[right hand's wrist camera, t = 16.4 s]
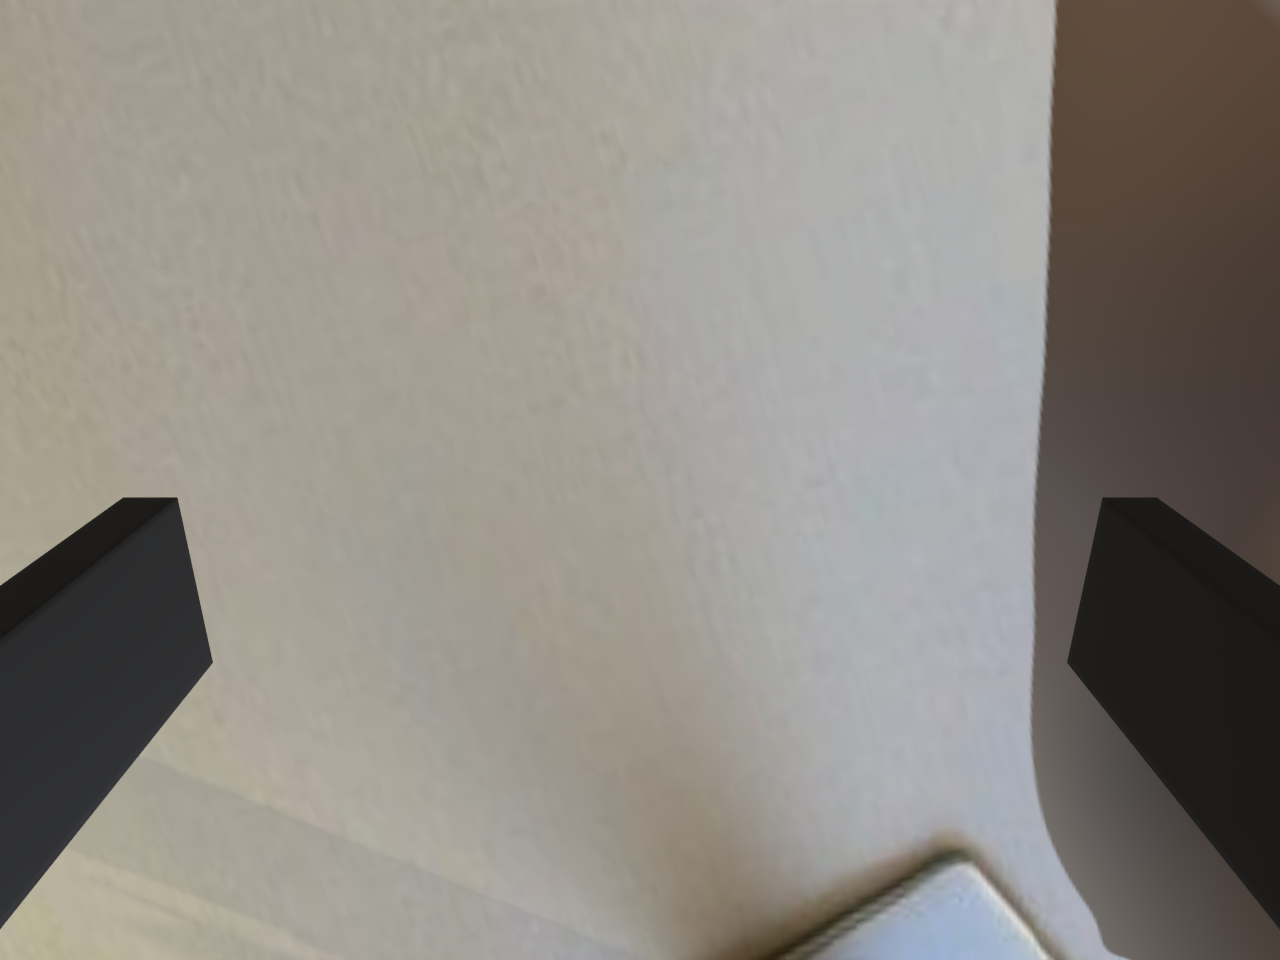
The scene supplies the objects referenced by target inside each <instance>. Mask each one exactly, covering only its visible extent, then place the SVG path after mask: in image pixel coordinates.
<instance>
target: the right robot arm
mask: <svg viewBox="0 0 1280 960" xmlns="http://www.w3.org/2000/svg"><path fill="white" fill-rule="evenodd" d="M212 663H213V661H212V657H211V652H210V647H209V643H208V638H207V633H206V629H205V624H204V619H203V615H202V610H201V605H200V601H199V596H198V591H197V587H196V582H195V577H194V573H193V568H192V563H191V559H190V554H189V549H188V545H187V540H186V535H185V531H184V526H183V522H182V517H181V512H180V508H179V503H178V498H122V499H121V500H119V501H118V502H116V503H115V504H114V505H112V506H111V507H110V508H108V509H107V510H105V511H104V512H103V513H101V514H100V515H98V516H97V517H96V518H94V519H93V520H91V521H90V522H89V523H87V524H86V525H84V526H83V527H82V528H80V529H79V530H77V531H76V532H75V533H73V534H72V535H70V536H69V537H68V538H66V539H65V540H63V541H62V542H61V543H59V544H58V545H56V546H55V547H54V548H52V549H51V550H49V551H48V552H47V553H45V554H44V555H43V556H41V557H40V558H38V559H37V560H36V561H34V562H33V563H31V564H30V565H29V566H27V567H26V568H24V569H23V570H22V571H20V572H19V573H17V574H16V575H15V576H13V577H12V578H10V579H9V580H8V581H6V582H5V583H3V584H2V585H1V586H0V929H1V927H2V926H3V925H4V924H5V922H6V921H7V920H8V919H9V917H10V916H11V915H12V914H13V912H14V911H15V910H16V909H17V907H18V906H19V905H20V904H21V902H22V901H23V900H24V899H25V897H26V896H27V895H28V894H29V892H30V891H31V890H32V889H33V887H34V886H35V885H36V884H37V882H38V881H39V880H40V879H41V877H42V876H43V875H44V874H45V872H46V871H47V870H48V869H49V867H50V866H51V865H52V864H53V862H54V861H55V860H56V859H57V857H58V856H59V855H60V854H61V852H62V851H63V850H64V849H65V847H66V846H67V845H68V844H69V842H70V841H71V840H72V839H73V837H74V836H75V835H76V833H77V832H78V831H79V830H80V828H81V827H82V826H83V825H84V823H85V822H86V821H87V820H88V818H89V817H90V816H91V815H92V813H93V812H94V811H95V810H96V808H97V807H98V806H99V805H100V803H101V802H102V801H103V800H104V798H105V797H106V796H107V795H108V793H109V792H110V791H111V790H112V788H113V787H114V786H115V785H116V783H117V782H118V781H119V780H120V778H121V777H122V776H123V775H124V773H125V772H126V771H127V770H128V768H129V767H130V766H131V765H132V763H133V762H134V761H135V760H136V758H137V757H138V756H139V755H140V753H141V752H142V751H143V750H144V748H145V747H146V746H147V745H148V743H149V742H150V741H151V740H152V738H153V737H154V736H155V735H156V733H157V732H158V731H159V729H160V728H161V727H162V726H163V724H164V723H165V722H166V721H167V719H168V718H169V717H170V716H171V714H172V713H173V712H174V711H175V709H176V708H177V707H178V706H179V704H180V703H181V702H182V701H183V699H184V698H185V697H186V696H187V694H188V693H189V692H190V691H191V689H192V688H193V687H194V686H195V684H196V683H197V682H198V681H199V679H200V678H201V677H202V676H203V674H204V673H205V672H206V671H207V669H208V668H209V667H210V666H211V664H212ZM1067 663H1068V664H1069V666H1070V667H1071V668H1072V669H1073V671H1074V672H1075V673H1076V674H1077V675H1078V677H1079V678H1080V679H1081V681H1082V682H1083V683H1084V684H1085V686H1086V687H1087V688H1088V689H1089V691H1090V692H1091V693H1092V694H1093V696H1094V697H1095V698H1096V699H1097V701H1098V702H1099V703H1100V704H1101V706H1102V707H1103V708H1104V709H1105V711H1106V712H1107V713H1108V714H1109V716H1110V717H1111V718H1112V719H1113V721H1114V722H1115V723H1116V724H1117V726H1118V727H1119V728H1120V729H1121V731H1122V732H1123V733H1124V734H1125V736H1126V737H1127V738H1128V739H1129V741H1130V742H1131V743H1132V744H1133V746H1134V747H1135V748H1136V749H1137V751H1138V752H1139V753H1140V755H1141V756H1142V757H1143V758H1144V760H1145V761H1146V762H1147V763H1148V765H1149V766H1150V767H1151V768H1152V770H1153V771H1154V772H1155V773H1156V775H1157V776H1158V777H1159V778H1160V780H1161V781H1162V782H1163V783H1164V785H1165V786H1166V787H1167V788H1168V790H1169V791H1170V792H1171V793H1172V795H1173V796H1174V797H1175V798H1176V800H1177V801H1178V802H1179V803H1180V805H1181V806H1182V807H1183V808H1184V810H1185V811H1186V812H1187V813H1188V815H1189V816H1190V817H1191V818H1192V820H1193V821H1194V822H1195V823H1196V825H1197V826H1198V827H1199V828H1200V830H1201V831H1202V832H1203V834H1204V835H1205V836H1206V837H1207V839H1208V840H1209V841H1210V842H1211V844H1212V845H1213V846H1214V847H1215V848H1216V850H1217V851H1218V852H1219V853H1220V855H1221V856H1222V857H1223V859H1224V860H1225V861H1226V862H1227V864H1228V865H1229V866H1230V867H1231V869H1232V870H1233V871H1234V872H1235V874H1236V875H1237V876H1238V877H1239V879H1240V880H1241V881H1242V882H1243V884H1244V885H1245V886H1246V887H1247V889H1248V890H1249V891H1250V892H1251V894H1252V895H1253V896H1254V897H1255V899H1256V900H1257V901H1258V902H1259V904H1260V905H1261V906H1262V907H1263V909H1264V910H1265V911H1266V912H1267V914H1268V915H1269V916H1270V917H1271V919H1272V920H1273V921H1274V922H1275V924H1276V925H1277V926H1278V927H1279V929H1280V586H1279V585H1278V584H1277V583H1275V582H1274V581H1272V580H1271V579H1270V578H1268V577H1267V576H1265V575H1264V574H1263V573H1261V572H1260V571H1258V570H1257V569H1256V568H1254V567H1253V566H1251V565H1250V564H1249V563H1247V562H1246V561H1244V560H1243V559H1242V558H1240V557H1239V556H1237V555H1236V554H1235V553H1233V552H1232V551H1231V550H1229V549H1228V548H1226V547H1225V546H1224V545H1222V544H1221V543H1219V542H1218V541H1217V540H1215V539H1214V538H1212V537H1211V536H1209V535H1208V534H1207V533H1205V532H1204V531H1203V530H1201V529H1200V528H1198V527H1197V526H1196V525H1194V524H1193V523H1191V522H1190V521H1189V520H1187V519H1186V518H1184V517H1183V516H1182V515H1180V514H1179V513H1177V512H1176V511H1175V510H1173V509H1172V508H1170V507H1169V506H1168V505H1166V504H1165V503H1163V502H1162V501H1161V500H1159V499H1158V498H1102V503H1101V508H1100V512H1099V517H1098V522H1097V526H1096V531H1095V535H1094V540H1093V545H1092V550H1091V554H1090V559H1089V563H1088V568H1087V573H1086V577H1085V582H1084V587H1083V591H1082V596H1081V601H1080V605H1079V610H1078V615H1077V619H1076V624H1075V629H1074V633H1073V638H1072V643H1071V647H1070V652H1069V657H1068V661H1067Z"/></svg>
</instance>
